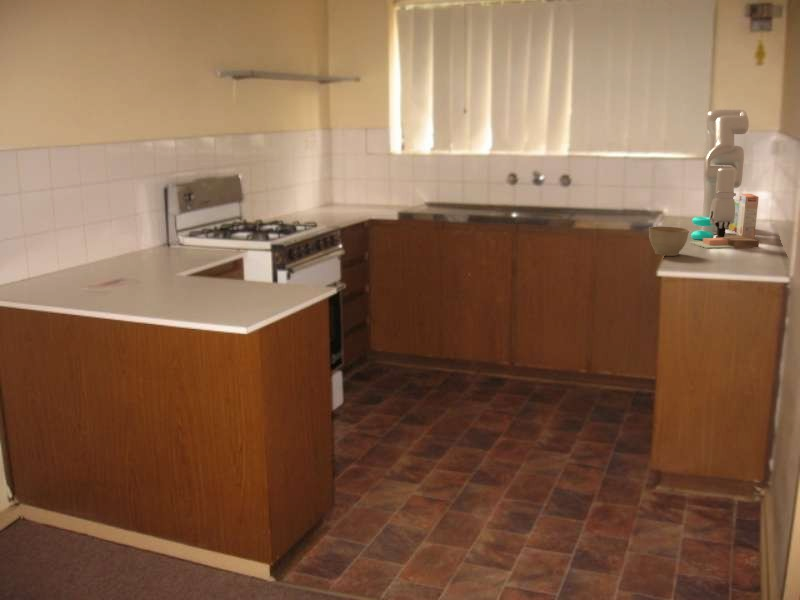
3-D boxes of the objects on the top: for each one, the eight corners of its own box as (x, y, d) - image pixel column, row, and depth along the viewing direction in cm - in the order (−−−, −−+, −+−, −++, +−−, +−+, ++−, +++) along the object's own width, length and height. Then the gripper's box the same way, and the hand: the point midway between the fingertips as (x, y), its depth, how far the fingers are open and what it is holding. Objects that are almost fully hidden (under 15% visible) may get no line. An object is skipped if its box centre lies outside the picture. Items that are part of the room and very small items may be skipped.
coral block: (702, 243, 380) (703, 238, 379) (721, 242, 381) (721, 237, 380) (709, 245, 374) (709, 240, 373) (728, 244, 375) (728, 239, 375)
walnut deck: (715, 242, 386) (715, 235, 385) (737, 241, 388) (738, 235, 387) (735, 248, 370) (735, 241, 369) (758, 247, 371) (758, 240, 371)
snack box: (720, 227, 433) (722, 198, 429) (730, 227, 433) (733, 198, 430) (739, 233, 412) (742, 203, 409) (750, 233, 412) (753, 203, 409)
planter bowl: (676, 259, 343) (678, 232, 340) (640, 254, 354) (641, 229, 351) (693, 254, 354) (695, 228, 352) (657, 250, 365) (659, 225, 363)
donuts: (719, 218, 391) (701, 219, 388) (717, 240, 393) (699, 241, 390) (705, 216, 400) (687, 216, 397) (704, 236, 402) (686, 237, 399)
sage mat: (689, 243, 384) (689, 241, 383) (715, 242, 385) (716, 241, 385) (707, 248, 368) (707, 247, 368) (734, 247, 370) (734, 246, 370)
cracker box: (755, 242, 387) (759, 196, 382) (741, 241, 388) (745, 196, 383) (749, 237, 400) (753, 193, 395) (735, 237, 401) (739, 193, 397)
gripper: (735, 194, 377) (732, 235, 381) (704, 195, 375) (701, 236, 379) (744, 196, 370) (740, 237, 374) (712, 197, 368) (709, 238, 372)
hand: (720, 236), depth 377 cm, fingers closed
